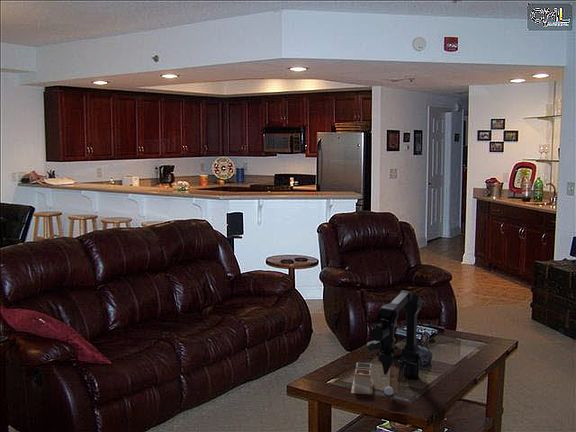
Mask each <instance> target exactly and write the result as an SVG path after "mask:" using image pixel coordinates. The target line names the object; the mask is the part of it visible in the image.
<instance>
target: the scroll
mask: <svg viewBox="0 0 576 432" xmlns="http://www.w3.org/2000/svg"><path fill="white" fill-rule="evenodd" d="M385 321H387V320H385ZM399 324H400V318H399V317H398V318H397V320H396V324H394V353H393V355H394V356H393V357H394V358H395V359H397V358H398V357H400V356H401V353H402V348H403V347H402V346H399V345H396V344H397V343H398V342H399V340H400V338H399V336H398V334H397V331H398V328H397V326H399ZM375 351H376V353H377V355H378V354H379V353H380V351H379V349H378V350H375Z"/></svg>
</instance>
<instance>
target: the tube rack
mask: <svg viewBox="0 0 576 432" xmlns="http://www.w3.org/2000/svg"><path fill="white" fill-rule="evenodd" d="M355 364H356V365H355V371H354V377H353V382H352V384H351V385H352V386H351V392H350V393H351V394H361V395H373V387H374V379H372V366H373V365H372V363H368V362H356V363H355ZM358 373H363V374H358Z"/></svg>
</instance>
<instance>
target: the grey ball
mask: <svg viewBox="0 0 576 432" xmlns="http://www.w3.org/2000/svg"><path fill="white" fill-rule="evenodd" d="M383 393H384V394H385V395H386V396H392V395H393V394H394V389H393V387H392V386H389V385H388V386H385V388H384V390H383Z"/></svg>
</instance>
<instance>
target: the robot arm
mask: <svg viewBox="0 0 576 432" xmlns="http://www.w3.org/2000/svg"><path fill="white" fill-rule="evenodd" d="M422 305H423V299H422V298H421V296H419V295H417V294H416V293H413V292H412V291H411V290H409V291H408V290H400V291H399V294H398V295H397V296H396V297H395V298H394V299H393V300H392V301H391V302H389V303H387V304H386V303H385V304H384V305H382V306H381V307H380V308H379V309H378V312H377V315H376V318H375V321H374V323H375V327H373V328H372V329H371V332H370V336H371V339H372V341H368V342H367V343H366V347H367V351H368V353H372V352H373V351H376V350H378V349H379V351H380V353H379V355H378V358H377V361H378V362H379V363H381V364H382V370H383V375H388V372H389V371H390V368H391V366H392V365H393V363H394V357H395V356H394V355H393V353H394V324H396V320H397V318H399V312H400V311H401V310H402V308H403V310H404V312H405V313H406V321H405V322H406V323H405V324H406V329H405V331H406V333H405V345H404V346H403V347H402V353H401V357H400V359H401V363H402V364H404V365H403V376H404V377H407V379H409V380H410V379H411V380H420V377H419V372H420V367H423V363H424V359H423V356H422V355H421V349H420V347H419V345H418V343H417V340H418V339H417V335H418V313H419V312H420V311H421V309H422ZM385 320H387V321H385Z"/></svg>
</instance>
